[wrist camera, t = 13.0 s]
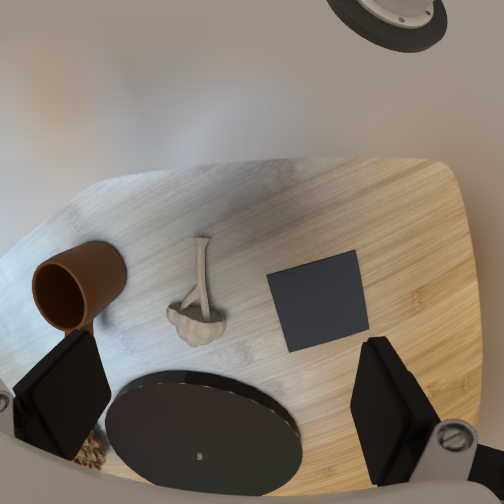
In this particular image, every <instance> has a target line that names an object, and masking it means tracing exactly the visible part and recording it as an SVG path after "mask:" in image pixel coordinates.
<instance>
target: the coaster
mask: <svg viewBox="0 0 504 504" xmlns="http://www.w3.org/2000/svg"><path fill="white" fill-rule="evenodd" d="M267 279H268V282H269V286H270V289H271V293H272V296H273V299H274V303H275V306H276V309H277V313H278V316H279V320H280V323H281V326H282V330H283V333H284V337H285V340H286V344H287V347H288V350H289V353H290V352H294V351H297V350H301V349H305V348H309V347H312V346H316V345H319V344H323V343H326V342H330V341H333V340H336V339H340V338H343V337H346V336H350V335H353V334H356V333H359V332H362V331H365V330H368V329H369V324H368V317H367V311H366V304H365V298H364V292H363V286H362V281H361V275H360V270H359V265H358V260H357V255H356V251H355V250H353V251H350V252H346V253H343V254H340V255H336V256H333V257H329V258H326V259H322V260H319V261H315V262H312V263H308V264H305V265H301V266H298V267H294V268H291V269H287V270H284V271H280V272H276V273H273V274H269V275H267Z"/></svg>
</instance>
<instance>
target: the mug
mask: <svg viewBox="0 0 504 504" xmlns="http://www.w3.org/2000/svg"><path fill="white" fill-rule="evenodd" d="M125 280H126V272H125V267H124V264H123V261H122V259H121V257H120V256H119V254H118V253H117V252H116V251H115V250H114V249H113V248H112V247H111V246H109V245H108V244H106V243H103V242H99V241H91V242H87V243H84V244H82V245H79V246H77V247H74V248H71V249H69V250H67V251H64V252H62V253H60V254H57V255H55V256H53V257H51V258H50V259H48V260H46V261H44V262H43V263H41V264H40V265H39V266H38V267H37V269H36V271H35V273H34V275H33V279H32V293H33V297H34V301H35V303H36V306H37V308H38V310H39V311H40V313H41V315H42V316H43V317H44V318H45V320H46V321H47V322H48V323H49V324H51V325H52V326H53V327H55V328H57V329H59V330H61V331H65V337H66V336H67V335H68V334H69V333H70V332H72V331H73V330H74V329H80V330H87V331H89V332H90V333H91V335H93V334H94V333H93V319H94V318H95V317H96V316H97V315H98V314H99V313H100V312H101V311H103V310H104V309H105V308H106V307H107V306H108V305H109V304H110V303H111V302H112V301H114V300H115V299H116V298H117V297H118V296H119V295H120V293H121V292H122V290H123V288H124V285H125Z"/></svg>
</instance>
